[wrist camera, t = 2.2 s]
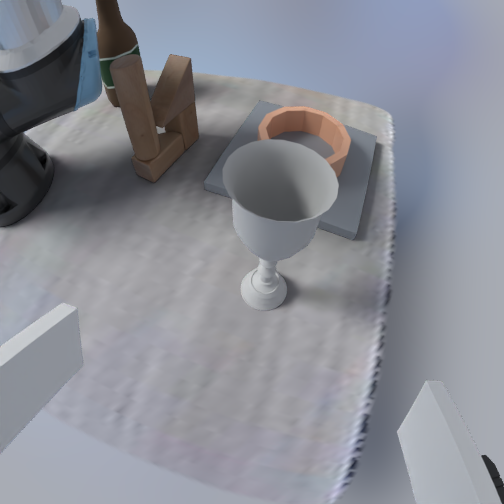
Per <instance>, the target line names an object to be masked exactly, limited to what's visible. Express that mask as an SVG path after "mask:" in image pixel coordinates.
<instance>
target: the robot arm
mask: <svg viewBox="0 0 504 504" xmlns="http://www.w3.org/2000/svg"><path fill="white" fill-rule="evenodd" d="M101 92H102V80H101V70H100V61H99V51H98V41H97V32H96V24H95V20H94V19H93V18H90V19H84V20H82V21H81V18H80V15H79V12H78V10H77V9H76V8H74V7H71V6H66V5H62V3H61V0H0V227H2V226H7V225H10V224H13V223H15V222H17V221H19V220H20V219H22V218H23V217H24V216H26V215H27V214H28V213H29V212H31V211H32V210H33V209H34V208H35V207H36V206H37V204H38V203H39V202H40V201H41V200H42V198H43V197H44V195H45V194H46V192H47V190H48V189H49V187H50V184H51V182H52V179H53V175H54V166H53V163H52V161H51V159H50V157H49V155H48V154H47V152H46V151H45V150H44V149H43V148H41V147H40V146H39V145H38V144H36V143H35V142H34V141H33V140H31V139H30V138H29V137H28V136H26V135H25V134H24V131H27V130H29V129H31V128H33V127H35V126H38V125H40V124H42V123H45V122H47V121H49V120H52V119H54V118H57V117H59V116H62V115H64V114H67V113H69V112H72V111H76V110H78V108H80V107H82V106H85V105H87V104H89V103H92V102H94V101H95V100H96V99H97V98H98V97H99V96H100V94H101ZM83 365H84V363H83V356H82V348H81V340H80V330H79V319H78V308H76V307H73V306H71V305H68V304H65V303H62V304H60V305H59V306H57V307H56V308H54V309H53V310H51V311H50V312H48V313H47V314H45V315H44V316H42V317H41V318H40V319H38V320H37V321H35V322H34V323H32V324H31V325H29V326H28V327H27V328H25V329H24V330H22V331H21V332H19V333H18V334H17V335H15V336H14V337H12V338H11V339H10V340H8V341H7V342H6V343H4V344H3V345H1V346H0V454H1V453H2V452H3V451H4V449H6V447H7V446H8V445H9V444H10V443H11V442H12V441H13V440H14V439H15V438H16V436H17V435H18V434H19V433H20V432H21V431H22V430H23V429H24V428H25V427H26V425H27V424H28V423H29V422H30V421H31V420H32V419H33V418H34V417H35V416H36V415H37V414H38V413H39V411H40V410H41V409H42V408H43V407H44V406H45V405H46V404H47V403H48V402H49V401H50V400H51V399H52V398H53V397H54V396H55V394H56V393H57V392H58V391H59V390H60V389H61V388H62V387H63V386H64V385H65V384H66V383H67V382H68V381H69V380H70V379H71V378H72V377H73V376H74V375H75V374H76V373H77V372H78V371H79V370H80V368H81V367H82V366H83ZM397 434H398V437H399V441H400V444H401V448H402V451H403V455H404V458H405V462H406V466H407V470H408V473H409V477H410V481H411V485H412V489H413V493H414V497H415V501H416V504H504V487H503V486H504V484H503V481H502V479H501V478H500V475H499V472H498V471H497V468H496V466H495V464H494V463H493V462H492V461H491V460H490V459H489V458H488V457H487V456H486V455H482V456H481V455H480V453H479V451H478V448H477V446H476V444H475V442H474V440H473V438H472V436H471V434H470V432H469V430H468V428H467V426H466V424H465V422H464V421H463V418H462V416H461V415H460V413H459V411H458V409H457V407H456V405H455V403H454V401H453V400H452V398H451V396H450V394H449V392H448V390H447V389H446V387H445V385H444V383H443V382H442V381H434V380H426V381H425V383H424V385H423V387H422V389H421V390H420V393H419V394H418V396H417V398H416V400H415V402H414V403H413V405H412V407H411V409H410V411H409V412H408V414H407V416H406V418H405V419H404V421H403V423H402V424H401V426H400V428H399V429H398V431H397Z"/></svg>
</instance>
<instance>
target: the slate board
mask: <svg viewBox="0 0 504 504" xmlns="http://www.w3.org/2000/svg"><path fill="white" fill-rule="evenodd" d="M282 107H283V106H280V105H276V104H272V103H268V102H264V101H259V102H258V103H257V105H256V106H255V107H254V109H253V110H252V112H251V113H250V114H249V116H248V117H247V119H246V120H245V122H244V123H243V124H242V126H241V127H240V129H239V130H238V132H237V133H236V135H235V136H234V137H233V139H232V140H231V142H230V143H229V145H228V146H227V148H226V149H225V151H224V152H223V154H222V155H221V157H220V158H219V160H218V161H217V163H216V164H215V166H214V167H213V169H212V170H211V172H210V173H209V175H208V176H207V178H206V180H205V181H204V187H205V190H207V191H211V192H214V193H217V194H220V195H223V196H226V197H229V198H231V197H230V196H229V194H228V192H227V190H226V188H225V185H224V183H223V167H224V165H225V163H226V161H227V158H228V157H229V156H230V155H231V154H232V153H233V152H234V151H236V150H237V149H238V148H239V147H242V146H244V145H246V144H248V143H251V142H254V141H257V140H258V127H259V125H260V123H261V122H262V120H263V119H264V117H265V116H266V114H268V113H270V112H273V111H275V110H277V109H280V108H282ZM344 127H345V129H346V131H347V133H348V135H349V137H350V139H351V143H350V146H349V150H348V153H347V157H346V160H345V162H344V165H343V168H342V171H341V174H340V176H338V177H337V181H338V184H339V187H338V194H337V198H336V200H335V201H334V203H333V204H332V206H331V207H330V209H329V210H327V211H326V212H324V213H322V215H321V218H320V221H319V224H318V228H321V229H323V230H326V231H329V232H332V233H334V234H337V235H340V236H343V237H345V238H348V239H351V240H354V238H355V236H356V234H357V230H358V226H359V222H360V218H361V213H362V209H363V204H364V200H365V195H366V191H367V186H368V181H369V176H370V171H371V166H372V161H373V155H374V150H375V144H376V138H377V136H374V135H372V134H369V133H366V132H364V131H361V130H358V129H355V128H352V127H349V126H346V125H344ZM271 139H274V140H286V141H290V142H294V143H298V144H301V145H303V146H305V147H307V148H309V149H311V150H314V151H315V152H316V153H318V154H319V155H320V156H321V157H323V158H324V159H327V158H328V157H330V156H332V155H334V154H335V153H334V150H333V148H332V146H331V145H329V144H328V143H327V142H325V141H324V140H323V139H322V138H320V137H319V136H316V135H313V134H310V133H306V132H303V131H290V132H283V133H281V134H279V135H277V136H275V137H272V138H271Z"/></svg>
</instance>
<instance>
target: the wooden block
mask: <svg viewBox="0 0 504 504" xmlns="http://www.w3.org/2000/svg"><path fill="white" fill-rule="evenodd" d="M110 72H111V76H112V80H113V83H114V87H115V90H116V94H117V97H118V101H119V104H120V108H121V111H122V114H123V118H124V121H125V124H126V128H127V131H128V134H129V137H130V140H131V143H132V146H133V150H134V153H135V155H134V156H132V158H131V160H132V162H133V165H134V168H135V171H136V174H137V175H139V176H141V177H143V178H145V179H147V180H149V181H151V182H156V181H157V180H158V179H159V177H160V176H161V175H162V174H163V173H164V172H165V171H166V170H167V169H168V168H169V167H170V166H171V165H172V164H173V163H174V162H175V161H176V160H177V159H178V158H179V157H180V156H181V155H182V154H183V153H184V151H185V150H187V149H188V148H189V147H190V146H191V145H192V144H193V143H194V142H195V141H196V140H197V139H198V138H199V133H198V124H197V116H196V107H195V102H194V101H195V93H194V84H193V74H192V64H191V58H188V57H183V56H177V55H172V54H170V55H169V57H168V60H167V62H166V64H165V67H164V69H163V71H162V74H161V76H160V78H159V81H158V83H157V86H156V88H155V91H154V93H153V96H152V98H151V101H150V98H149V93H148V89H147V84H146V79H145V74H144V69H143V64H142V60H141V57H140V56H139V55H136V54H131V55H125V56H122V57H120V58H118V59H116V60H114V61H113V62H112V63H111V64H110ZM156 126H158V127H161V128H163V127H164V126H165V131H166V133H161V134H158V133H157V129H156Z"/></svg>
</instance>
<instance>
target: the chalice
mask: <svg viewBox="0 0 504 504" xmlns="http://www.w3.org/2000/svg"><path fill="white" fill-rule="evenodd" d="M223 183H224V185H225V188H226V190H227V192H228V194H229V196H230V197H231V198H232V210H233V226H234V228H235V230H236V233H237V235H238V236H239V238H240V239H241V240H242V242H243V243H244V245H245V246H246V247H247V248H248V249H249V250H250V251H251V252H252V253H253V254H255V255H256V256H258V257H259V262H260V264H259V265H258V268H256V269H254V270H252V271H251V272H249V273H248V274H247V275H246V276H245V277H244V278H243V280H242V283H241V294H242V297H243V299H244V300H245V302H246V303H247V304H248V305H249V306H251V307H252V308H254V309H258V310H261V311H263V310H271V309H274V308H276V307H278V306H279V305H281V304H282V302H283V301H284V299H285V298H286V294H287V285H286V283H285V280H284V278H283V277H282V276H281V275H280V274H279V273H278V272H277V271H276V267H275V266H276V264H277V261H279V260H283V259H286V258H290V257H291V256H293V255H294V254H296V253H297V252H299V251H300V250H302V249H303V248H305V247H306V246H308V244H309V243H310V241H311V240H312V239H313V237H314V235H315V232H316V229H317V227H318V224H319V221H320V218H321V215H322V213H324V212H326V211H327V210H329V209H330V207H331V206H332V204H333V203H334V201H335V200H336V198H337V194H338V187H339V184H338V181H337V177H336V174H335V171H334V170H333V169H332V167H331V166H330V165H329V163H328V162H327V161H326V160H325V159H324V158H323V157H321V156H320V155H319V154H318V153H316V152H315V151H314V150H311V149H309V148H307V147H305V146H303V145H301V144H298V143H294V142H290V141H286V140H274V139H266V140H260V141H254V142H251V143H248V144H246V145H244V146H242V147H239V148H238V149H237V150H236V151H234V152H233V153H232V154H231V155H230V156H229V157H228V158H227V161H226V163H225V165H224V167H223Z"/></svg>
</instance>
